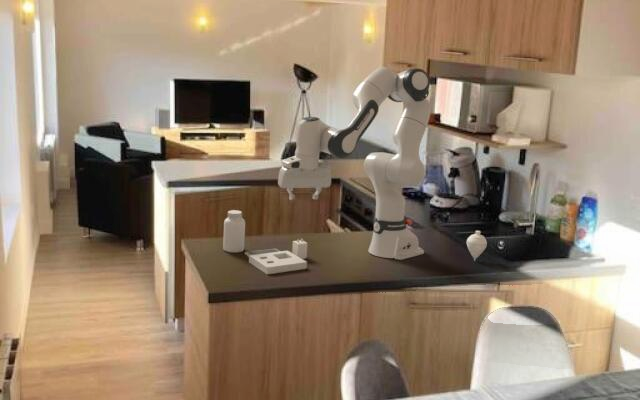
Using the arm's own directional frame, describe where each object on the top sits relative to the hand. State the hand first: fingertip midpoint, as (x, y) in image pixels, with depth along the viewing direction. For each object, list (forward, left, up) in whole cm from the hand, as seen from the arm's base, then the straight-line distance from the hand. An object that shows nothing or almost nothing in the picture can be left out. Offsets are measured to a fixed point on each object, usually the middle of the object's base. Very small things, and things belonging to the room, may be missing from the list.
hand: (303, 199), depth 248 cm
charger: (0, -1, -23) cm, 23 cm away
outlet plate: (+12, +4, -23) cm, 26 cm away
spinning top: (-62, +28, -23) cm, 72 cm away
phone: (+11, -8, -23) cm, 27 cm away
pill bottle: (+19, -18, -23) cm, 35 cm away
